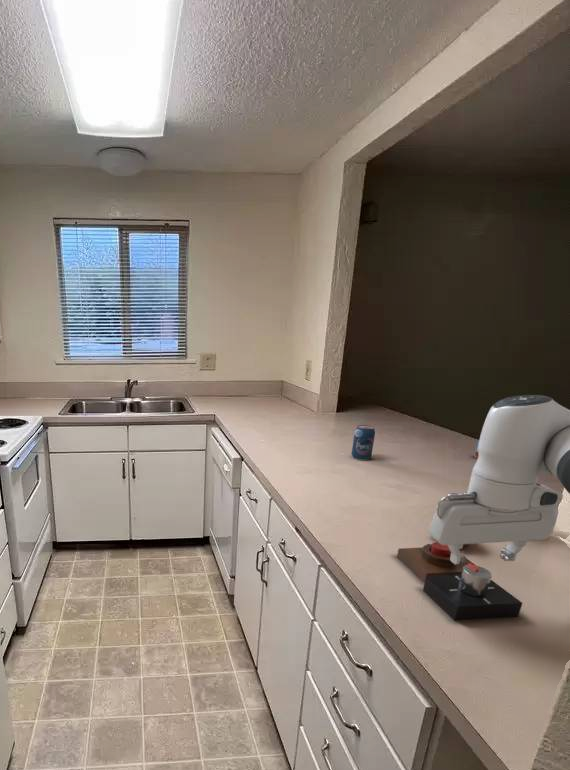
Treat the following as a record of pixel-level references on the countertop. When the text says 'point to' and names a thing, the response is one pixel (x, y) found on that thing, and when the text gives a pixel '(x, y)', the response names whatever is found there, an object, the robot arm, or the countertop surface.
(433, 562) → the button box
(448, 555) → the red button
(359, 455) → the soda can
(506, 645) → the countertop surface
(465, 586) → the dial
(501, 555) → the robot arm
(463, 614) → the dial panel
